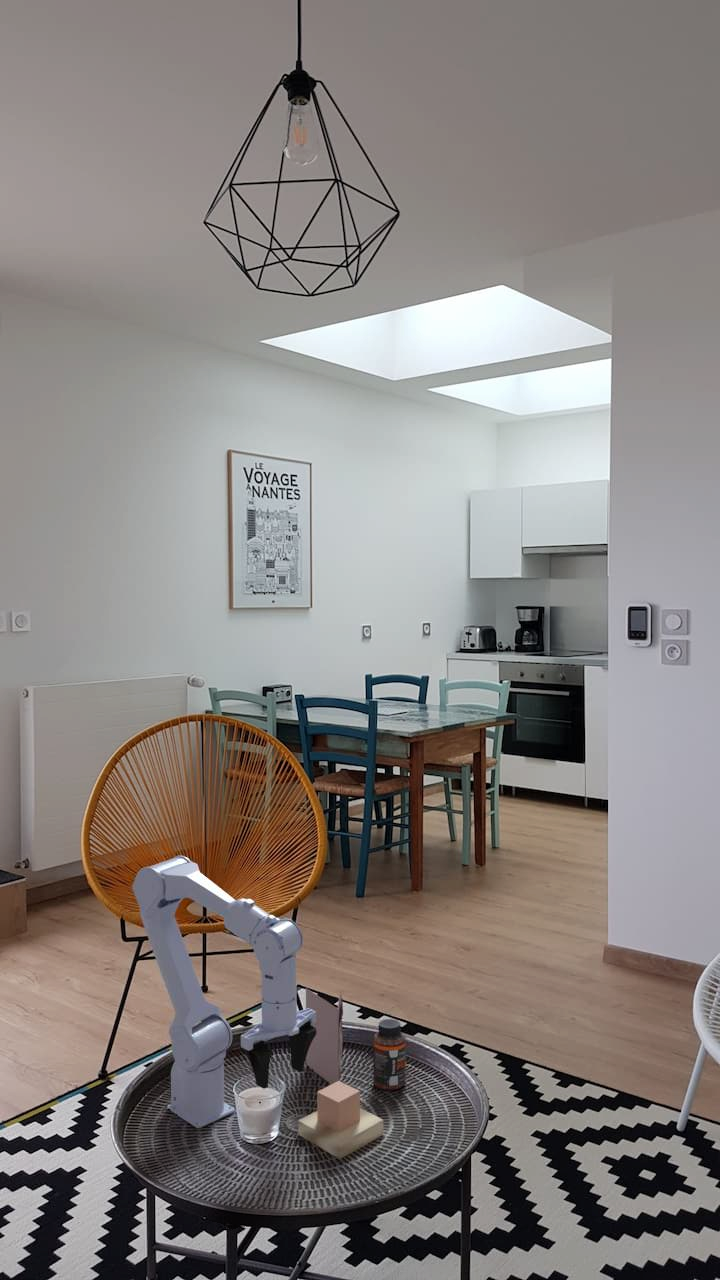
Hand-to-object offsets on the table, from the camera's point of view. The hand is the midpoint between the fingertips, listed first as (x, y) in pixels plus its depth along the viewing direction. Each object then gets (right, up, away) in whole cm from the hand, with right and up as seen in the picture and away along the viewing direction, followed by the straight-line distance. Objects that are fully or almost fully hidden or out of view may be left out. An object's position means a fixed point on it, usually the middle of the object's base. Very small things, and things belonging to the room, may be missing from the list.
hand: (280, 1077), depth 164 cm
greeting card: (+7, -9, +22) cm, 25 cm away
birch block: (+10, -11, +2) cm, 15 cm away
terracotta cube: (+10, -8, +2) cm, 13 cm away
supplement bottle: (+19, -10, +19) cm, 28 cm away
